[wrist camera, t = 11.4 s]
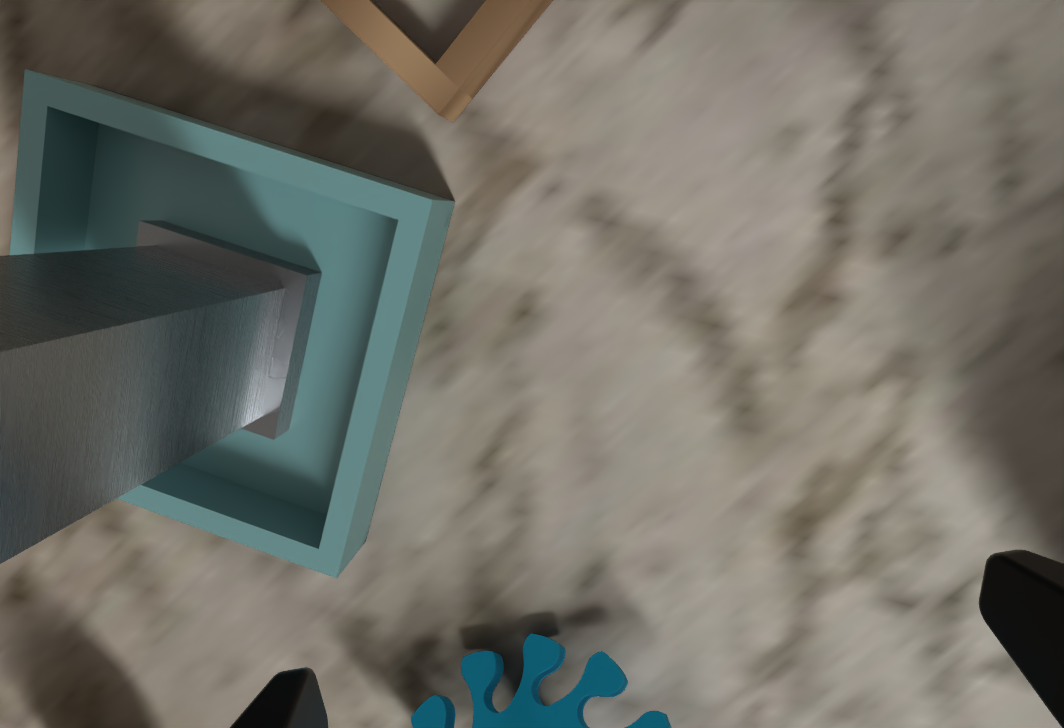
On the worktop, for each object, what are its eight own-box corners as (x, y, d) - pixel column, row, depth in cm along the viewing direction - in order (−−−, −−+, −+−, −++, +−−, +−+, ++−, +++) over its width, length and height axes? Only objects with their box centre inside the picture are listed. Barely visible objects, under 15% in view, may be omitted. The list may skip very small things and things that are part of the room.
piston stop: (322, 272, 20) (-163, 368, 8) (289, 429, 22) (-164, 724, 9) (161, 220, 21) (-549, 231, 8) (139, 378, 22) (-492, 595, 10)
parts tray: (455, 201, 20) (432, 200, 17) (365, 541, 23) (336, 578, 21) (92, 85, 20) (24, 69, 18) (55, 430, 24) (-7, 453, 21)
